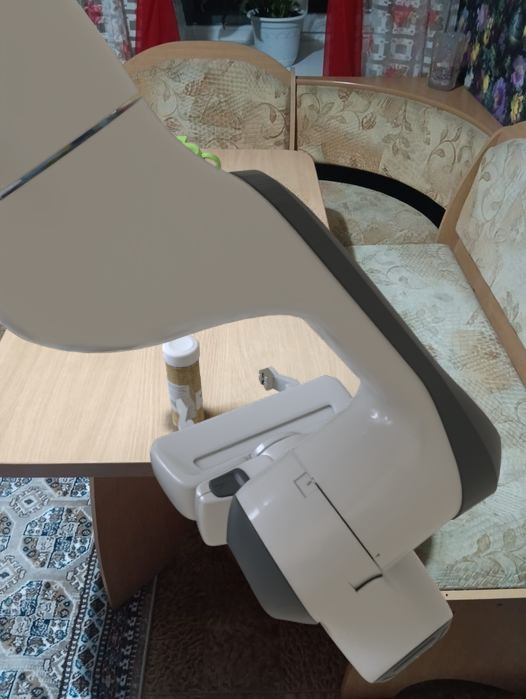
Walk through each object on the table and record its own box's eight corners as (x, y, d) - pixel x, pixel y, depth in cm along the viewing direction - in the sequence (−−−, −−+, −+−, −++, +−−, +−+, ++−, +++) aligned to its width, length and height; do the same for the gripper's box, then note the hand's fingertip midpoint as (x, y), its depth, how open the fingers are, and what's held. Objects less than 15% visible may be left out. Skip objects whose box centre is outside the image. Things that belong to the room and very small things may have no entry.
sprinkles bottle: (211, 420, 75) (206, 344, 66) (185, 437, 72) (176, 360, 64) (190, 402, 77) (184, 327, 69) (164, 418, 75) (154, 342, 66)
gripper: (394, 417, 49) (311, 334, 58) (183, 510, 41) (126, 397, 50) (383, 462, 53) (307, 377, 62) (189, 554, 45) (135, 442, 54)
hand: (224, 386), depth 56 cm, fingers open, 8 cm apart
